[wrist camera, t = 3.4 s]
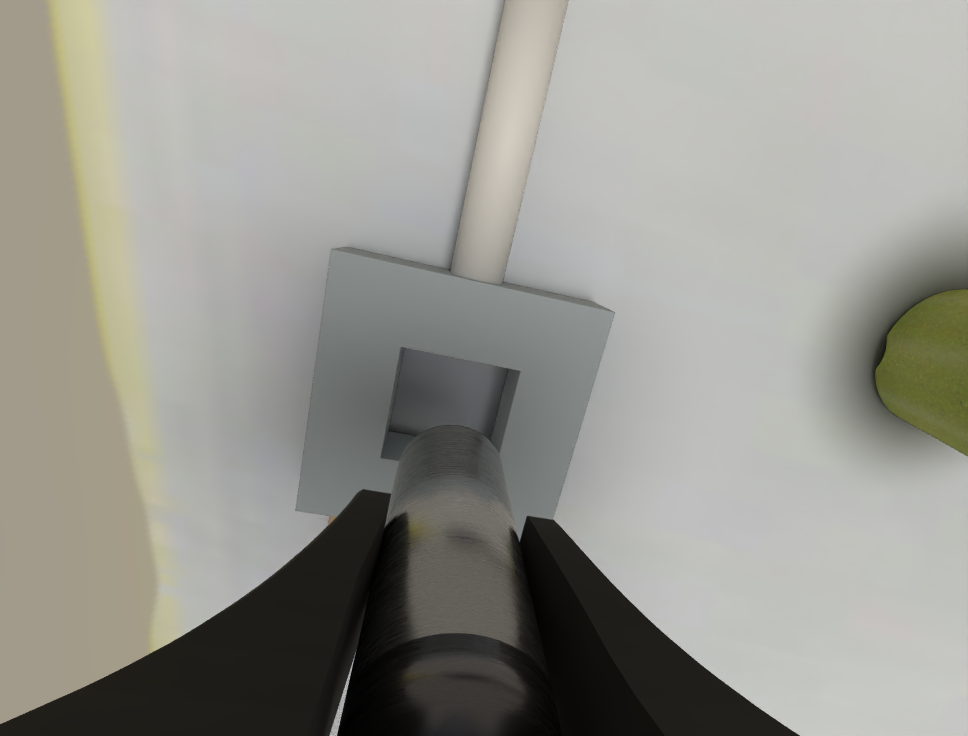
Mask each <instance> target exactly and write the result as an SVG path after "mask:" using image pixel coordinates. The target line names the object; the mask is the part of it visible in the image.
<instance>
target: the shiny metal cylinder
mask: <svg viewBox="0 0 968 736" xmlns="http://www.w3.org/2000/svg"><path fill="white" fill-rule="evenodd" d="M337 736H562V732H561V728H560V723H559V718H558V714H557V709H556V705H555V700H554V696H553V691H552V687H551V682H550V678H549V673H548V669H547V664H546V660H545V655H544V651H543V646H542V642H541V637H540V633H539V628H538V624H537V619H536V615H535V610H534V606H533V601H532V597H531V592H530V588H529V583H528V579H527V574H526V570H525V565H524V561H523V556H522V552H521V547H520V543H519V538H518V534H517V529H516V524H515V520H514V515H513V511H512V506H511V502H510V497H509V493H508V488H507V484H506V479H505V475H504V470H503V466H502V462H501V458H500V455H499V453H498V451H497V449H496V448H495V446H494V445H493V444H492V443H491V441H490V440H488V439H487V438H486V437H485V436H484V435H482V434H481V433H479V432H477V431H475V430H473V429H470V428H468V427H463V426H457V425H444V426H438V427H434V428H431V429H429V430H426V431H424V432H423V433H421V434H419V435H418V436H416V437H415V438H414V439H413V440H412V441H411V442H410V443H409V444H408V445H407V446H406V448H405V449H404V451H403V453H402V455H401V457H400V459H399V463H398V467H397V472H396V476H395V481H394V485H393V490H392V494H391V498H390V503H389V508H388V513H387V518H386V523H385V528H384V533H383V537H382V542H381V546H380V551H379V556H378V560H377V563H376V567H375V570H374V575H373V579H372V583H371V587H370V592H369V596H368V601H367V605H366V610H365V614H364V618H363V623H362V627H361V632H360V636H359V641H358V645H357V650H356V654H355V658H354V663H353V667H352V672H351V676H350V681H349V685H348V690H347V694H346V698H345V703H344V707H343V712H342V716H341V721H340V725H339V730H338V734H337Z"/></svg>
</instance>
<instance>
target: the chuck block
mask: <svg viewBox="0 0 968 736" xmlns="http://www.w3.org/2000/svg"><path fill="white" fill-rule="evenodd" d="M568 1H569V0H505V4H504V9H503V14H502V19H501V24H500V29H499V34H498V39H497V44H496V49H495V53H494V58H493V63H492V68H491V73H490V78H489V83H488V88H487V93H486V98H485V103H484V108H483V112H482V117H481V122H480V127H479V132H478V137H477V142H476V147H475V152H474V157H473V162H472V167H471V172H470V176H469V181H468V186H467V191H466V196H465V201H464V206H463V211H462V216H461V221H460V226H459V231H458V235H457V240H456V245H455V250H454V255H453V260H452V265H451V270H447V269H443V268H439V267H434V266H430V265H425V264H421V263H416V262H412V261H407V260H403V259H398V258H394V257H389V256H385V255H381V254H376V253H372V252H367V251H363V250H358V249H354V248H349V247H343V248H336V249H331V253H330V260H329V268H328V275H327V282H326V290H325V297H324V304H323V312H322V319H321V326H320V334H319V341H318V348H317V356H316V363H315V371H314V378H313V385H312V393H311V400H310V407H309V415H308V422H307V429H306V437H305V444H304V451H303V459H302V466H301V473H300V481H299V488H298V495H297V503H296V510H295V511H300V512H307V513H314V514H320V515H327V516H333V517H337V516H338V515H339V514H340V513H341V512H342V511H343V510H344V508H345V507H346V506H347V505H348V504H349V503H350V501H351V500H352V499H353V498H354V496H355V495H356V493H358V492H359V491H361V490H362V489H365V490H372V491H378V492H384V493H390V494H392V490H393V485H394V481H395V476H396V472H397V467H398V463H399V459H400V457H401V455H402V453H403V451H404V449H405V448H406V446H407V445H408V444H409V443H410V442H411V441H412V440H413V439H414V438H415V437H416V436H413V435H407V434H402V433H396V432H390V431H389V426H390V421H391V415H392V410H393V404H394V399H395V394H396V388H397V383H398V378H399V372H400V367H401V361H402V356H403V351H404V348H408V349H413V350H418V351H423V352H428V353H433V354H438V355H443V356H448V357H453V358H458V359H463V360H468V361H473V362H478V363H483V364H488V365H493V366H498V367H503V368H508V372H507V376H506V380H505V384H504V388H503V392H502V396H501V400H500V404H499V408H498V412H497V416H496V420H495V424H494V428H493V432H492V436H491V440H490V441H491V443H492V444H493V445H494V446H495V448H496V449H497V451H498V453H499V455H500V458H501V462H502V466H503V470H504V475H505V479H506V484H507V488H508V493H509V497H510V502H511V506H512V511H513V515H514V520H515V524H516V529H517V534H518V538H519V542H520V538H521V535H522V531H523V528H524V524H525V521H526V517H527V516H533V517H539V518H546V519H552V520H553V517H554V514H555V510H556V507H557V504H558V500H559V497H560V494H561V491H562V487H563V484H564V481H565V477H566V474H567V471H568V467H569V464H570V461H571V457H572V454H573V451H574V447H575V444H576V441H577V437H578V434H579V431H580V427H581V424H582V421H583V417H584V414H585V411H586V407H587V404H588V401H589V397H590V394H591V391H592V387H593V384H594V381H595V378H596V374H597V371H598V368H599V364H600V361H601V358H602V354H603V351H604V348H605V344H606V341H607V338H608V334H609V331H610V328H611V324H612V321H613V318H614V314H615V312H613V311H611V310H609V309H607V308H605V307H603V306H601V305H599V304H597V303H595V302H590V301H586V300H581V299H577V298H572V297H568V296H564V295H559V294H555V293H550V292H546V291H541V290H537V289H532V288H528V287H523V286H519V285H514V284H510V283H506V282H503V279H504V275H505V270H506V266H507V262H508V258H509V253H510V249H511V245H512V240H513V236H514V232H515V228H516V223H517V219H518V215H519V210H520V206H521V202H522V198H523V193H524V189H525V185H526V181H527V176H528V172H529V168H530V163H531V159H532V155H533V151H534V146H535V142H536V138H537V133H538V129H539V125H540V121H541V116H542V112H543V108H544V103H545V99H546V95H547V91H548V86H549V82H550V78H551V74H552V69H553V65H554V61H555V56H556V52H557V48H558V44H559V39H560V35H561V31H562V26H563V22H564V18H565V14H566V9H567V5H568Z"/></svg>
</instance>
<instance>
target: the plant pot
mask: <svg viewBox="0 0 968 736" xmlns="http://www.w3.org/2000/svg"><path fill="white" fill-rule="evenodd" d="M875 378H876V386H877V390H878V393H879V396H880V398H881V400H882V402H883V403H884V405H885V406H886V407H887V408H888V410H890V411H891V412H892V413H893V414H894V415H896V416H897V417H899V418H901V419H902V420H904V421H906V422H908V423H910V424H911V425H913V426H915V427H917V428H918V429H920V430H922V431H924V432H926V433H927V434H929V435H931V436H933V437H934V438H936V439H938V440H940V441H942V442H943V443H945V444H947V445H949V446H950V447H952V448H954V449H956V450H957V451H959V452H961V453H963V454H964V455H966V456H968V289H959V290H949V291H945V292H941V293H938V294H935V295H933V296H931V297H928V298H927V299H925V300H923V301H921V302H920V303H918V304H917V305H915V306H914V307H913V308H911V309H910V310H909V311H908V312H907V313H905V314H904V315H903V316H902V317H901V318H900V319H899V320H898V321H897V323H896V324H895V325H894V326H893V328H892V329H891V330H890V332H889V333H888V335H887V345H886V351H885V354H884V357H883V359H882V361H881V363H880V364H879V365H878V367H877V368H876V372H875Z"/></svg>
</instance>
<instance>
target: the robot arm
mask: <svg viewBox="0 0 968 736" xmlns="http://www.w3.org/2000/svg"><path fill="white" fill-rule="evenodd" d="M390 498H391V494H390V493H384V492H378V491H372V490H365V489H362V490H361V491H359V492H358V493H356V495H355V496H354V498H353V499H352V500H351V501H350V503H349V504H348V505H347V506H346V507H345V508H344V510H343V511H342V512H341V513H340V514H339V515H338V516H337V517H336V518H335V519H334V520H333V521H332V522H331V523H330V524H329V525H328V526H327V527H326V528H325V529H324V530H323V531H322V532H321V533H320V534H319V535H318V536H317V537H316V538H315V539H314V540H313V541H312V542H311V543H310V544H309V545H308V546H307V547H305V548H304V549H303V550H302V551H301V552H300V553H298V554H297V555H296V556H295V557H294V558H293V559H291V560H290V561H289V562H288V563H287V564H286V565H284V566H283V567H282V568H281V569H280V570H278V571H277V572H276V573H275V574H273V575H272V576H271V577H269V578H268V579H267V580H266V581H264V582H263V583H262V584H260V585H259V586H258V587H256V588H255V589H253V590H252V591H251V592H249V593H248V594H246V595H245V596H244V597H242V598H241V599H239V600H238V601H237V602H235V603H234V604H232V605H231V606H229V607H228V608H226V609H224V610H223V611H221V612H220V613H218V614H217V615H215V616H214V617H212V618H210V619H209V620H207V621H206V622H204V623H203V624H201V625H200V626H198V627H196V628H195V629H193V630H191V631H190V632H188V633H186V634H185V635H183V636H181V637H180V638H178V639H176V640H174V641H173V642H171V643H169V644H167V645H165V646H164V647H162V648H160V649H158V650H156V651H154V652H152V653H150V654H149V655H147V656H145V657H143V658H141V659H139V660H137V661H136V662H134V663H132V664H130V665H128V666H126V667H124V668H122V669H120V670H118V671H116V672H114V673H112V674H110V675H108V676H106V677H104V678H102V679H100V680H98V681H96V682H94V683H92V684H90V685H87V686H85V687H83V688H81V689H79V690H77V691H74V692H72V693H70V694H68V695H65V696H63V697H61V698H59V699H56V700H54V701H52V702H50V703H47V704H45V705H43V706H41V707H38V708H36V709H34V710H32V711H29V712H27V713H25V714H23V715H20V716H18V717H16V718H13V719H11V720H9V721H7V722H4V723H2V724H0V736H329V735H330V731H331V728H332V725H333V722H334V719H335V716H336V712H337V709H338V706H339V703H340V700H341V697H342V694H343V690H344V687H345V684H346V681H347V678H348V675H349V671H350V668H351V665H352V662H353V659H354V656H355V652H356V649H357V645H358V641H359V636H360V632H361V627H362V623H363V618H364V614H365V610H366V605H367V601H368V596H369V592H370V587H371V583H372V579H373V575H374V570H375V567H376V563H377V560H378V556H379V551H380V546H381V542H382V537H383V533H384V528H385V523H386V518H387V513H388V508H389V503H390ZM519 543H520V547H521V552H522V556H523V561H524V565H525V570H526V574H527V579H528V583H529V588H530V592H531V597H532V601H533V606H534V610H535V615H536V619H537V624H538V628H539V633H540V637H541V642H542V646H543V651H544V655H545V660H546V664H547V669H548V673H549V678H550V682H551V687H552V691H553V696H554V700H555V705H556V709H557V714H558V718H559V723H560V728H561V732H562V736H800V735H798V734H796V733H795V732H793V731H792V730H790V729H789V728H787V727H786V726H784V725H783V724H781V723H780V722H778V721H777V720H775V719H774V718H772V717H771V716H770V715H768V714H767V713H765V712H764V711H762V710H761V709H759V708H758V707H757V706H755V705H754V704H752V703H751V702H750V701H748V700H747V699H746V698H744V697H743V696H742V695H740V694H739V693H737V692H736V691H735V690H733V689H732V688H731V687H729V686H728V685H727V684H725V683H724V682H723V681H721V680H720V679H718V678H717V677H716V676H715V675H713V674H712V673H711V672H710V671H708V670H707V669H706V668H704V667H703V666H702V665H701V664H699V663H698V662H697V661H696V660H694V659H693V658H692V657H691V656H690V655H689V654H687V653H686V652H685V651H684V650H683V649H681V648H680V647H679V646H678V645H677V644H676V643H674V642H673V641H672V640H671V639H670V638H668V637H667V636H666V635H665V634H664V633H663V632H662V631H661V630H659V629H658V628H657V627H656V626H655V625H654V624H653V623H652V622H651V621H650V620H649V619H648V618H647V617H645V616H644V615H643V614H642V613H641V612H640V611H639V610H638V609H637V608H636V607H635V606H634V605H633V604H632V603H631V602H630V601H629V600H628V599H627V598H626V597H625V596H624V595H623V594H622V593H621V592H620V591H619V590H618V589H617V588H616V587H615V586H614V585H613V584H612V583H611V582H610V581H609V580H608V578H607V577H606V576H605V575H604V574H603V573H602V572H601V571H600V570H599V569H598V568H597V567H596V566H595V564H594V563H593V562H592V561H591V560H590V559H589V558H588V557H587V556H586V555H585V553H584V552H583V551H582V550H581V549H580V548H579V547H578V546H577V545H576V543H575V542H574V541H573V540H572V539H571V538H570V537H569V536H568V535H567V533H566V532H565V531H564V530H563V529H562V528H561V527H560V526H559V525H558V524H557V523H556V522H555V521H554V520H552V519H546V518H539V517H533V516H527V517H526V521H525V524H524V528H523V531H522V535H521V538H520V542H519Z"/></svg>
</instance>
